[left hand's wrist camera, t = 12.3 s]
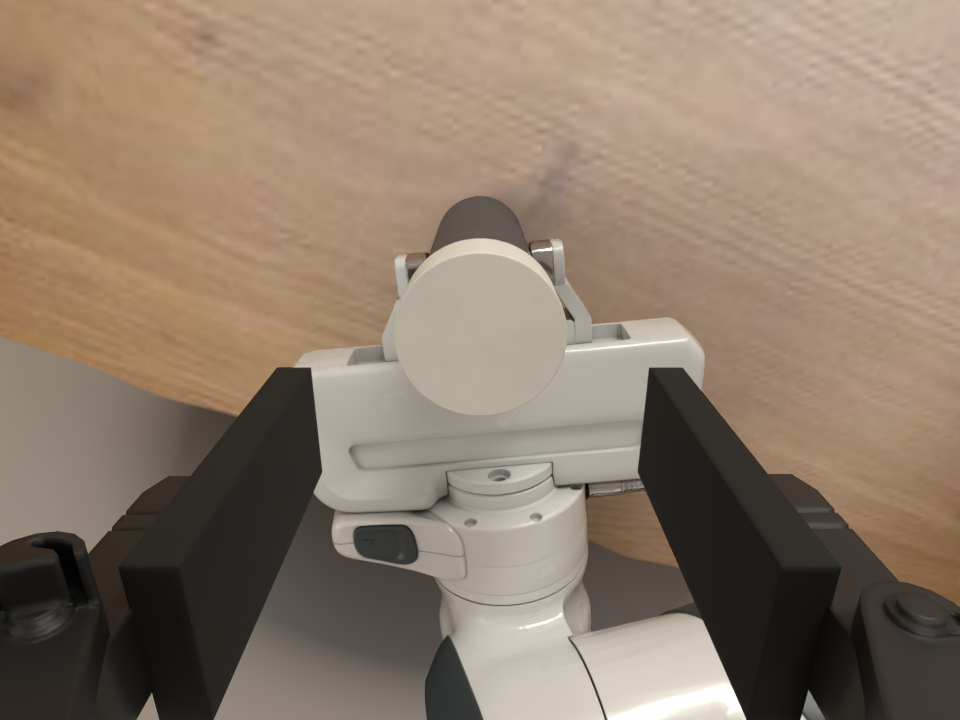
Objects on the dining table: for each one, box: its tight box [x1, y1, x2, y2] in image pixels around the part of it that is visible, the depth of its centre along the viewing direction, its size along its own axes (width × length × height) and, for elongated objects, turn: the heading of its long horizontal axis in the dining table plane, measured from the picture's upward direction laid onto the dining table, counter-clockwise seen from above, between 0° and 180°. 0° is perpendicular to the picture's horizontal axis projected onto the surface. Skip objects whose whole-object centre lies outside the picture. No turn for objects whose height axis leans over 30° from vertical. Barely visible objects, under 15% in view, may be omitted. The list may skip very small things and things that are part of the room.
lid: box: [394, 238, 567, 416], centre depth 21 cm, size 6×6×2 cm
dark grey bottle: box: [429, 197, 532, 257], centre depth 27 cm, size 5×5×16 cm
